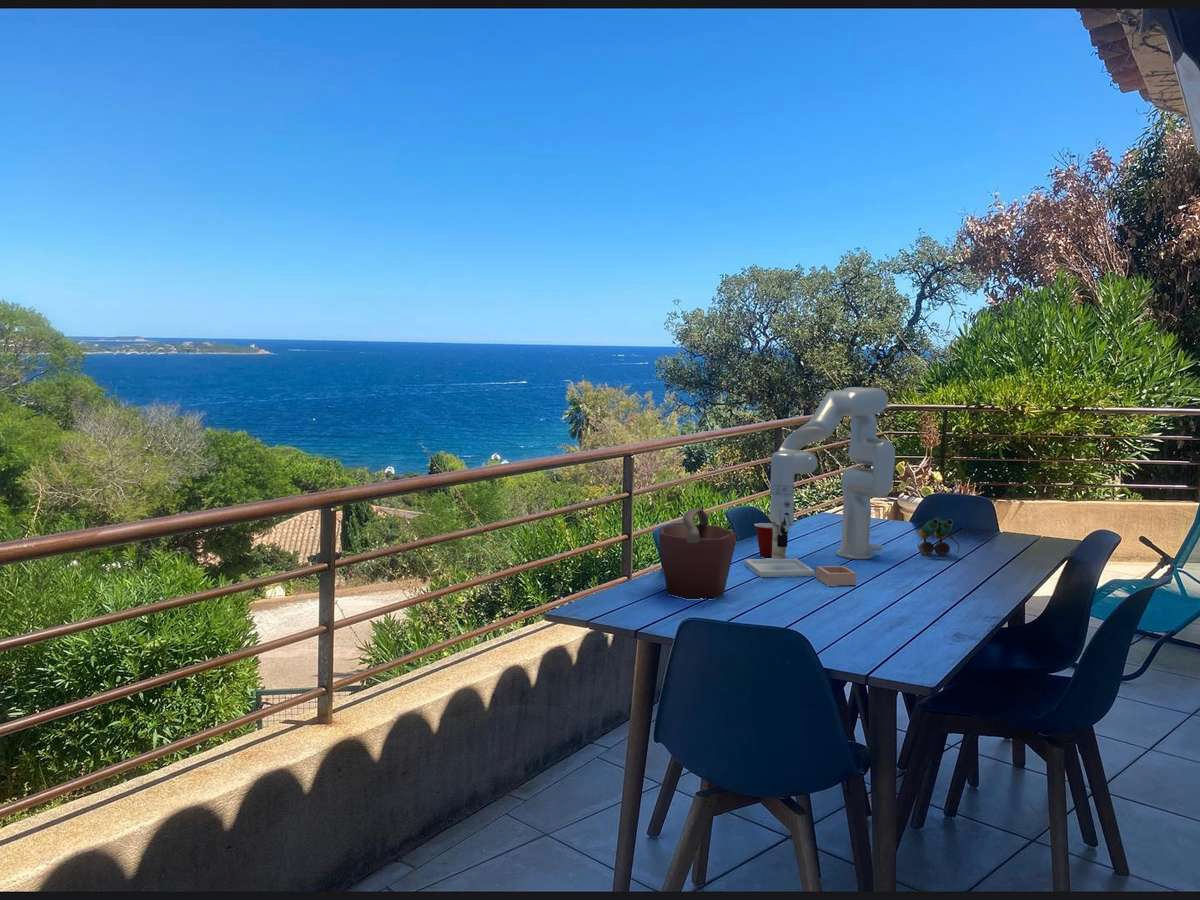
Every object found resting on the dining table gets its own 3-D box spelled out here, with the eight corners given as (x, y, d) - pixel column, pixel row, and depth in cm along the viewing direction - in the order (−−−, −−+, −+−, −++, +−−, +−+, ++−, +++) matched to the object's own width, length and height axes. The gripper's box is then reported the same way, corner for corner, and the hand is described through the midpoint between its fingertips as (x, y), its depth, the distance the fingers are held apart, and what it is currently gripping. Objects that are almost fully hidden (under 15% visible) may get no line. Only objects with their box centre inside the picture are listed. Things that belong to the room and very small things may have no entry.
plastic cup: (782, 554, 292) (783, 521, 291) (786, 561, 281) (787, 527, 280) (751, 553, 293) (752, 520, 292) (754, 560, 282) (755, 526, 281)
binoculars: (954, 566, 292) (950, 526, 299) (967, 554, 280) (962, 513, 286) (914, 564, 294) (910, 524, 300) (925, 552, 281) (921, 511, 287)
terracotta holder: (842, 578, 261) (843, 565, 261) (855, 585, 252) (856, 573, 252) (816, 578, 260) (816, 566, 260) (827, 586, 251) (828, 573, 251)
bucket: (709, 609, 226) (711, 520, 223) (639, 596, 238) (641, 511, 235) (742, 589, 247) (745, 507, 244) (677, 577, 259) (679, 499, 256)
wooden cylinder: (782, 555, 271) (784, 520, 270) (787, 559, 267) (789, 522, 265) (769, 556, 270) (771, 520, 269) (774, 559, 266) (776, 523, 265)
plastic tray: (795, 564, 278) (795, 558, 278) (814, 576, 263) (814, 570, 262) (744, 565, 276) (744, 559, 275) (760, 577, 260) (760, 571, 260)
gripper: (802, 494, 258) (800, 551, 260) (783, 486, 275) (781, 539, 277) (780, 494, 257) (777, 551, 259) (762, 486, 274) (759, 539, 276)
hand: (779, 544), depth 268 cm, fingers closed on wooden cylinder, 4 cm apart
